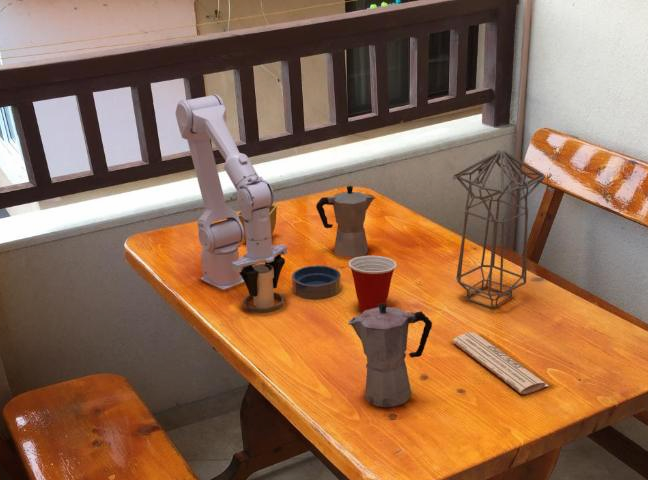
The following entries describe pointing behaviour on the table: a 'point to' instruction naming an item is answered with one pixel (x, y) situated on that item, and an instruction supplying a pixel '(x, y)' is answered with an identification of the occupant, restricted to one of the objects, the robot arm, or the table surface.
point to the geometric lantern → (487, 163)
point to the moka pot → (388, 352)
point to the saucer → (263, 310)
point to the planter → (316, 282)
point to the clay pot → (264, 286)
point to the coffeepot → (348, 221)
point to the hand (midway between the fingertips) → (263, 291)
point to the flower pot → (272, 219)
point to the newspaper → (499, 363)
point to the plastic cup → (372, 279)
